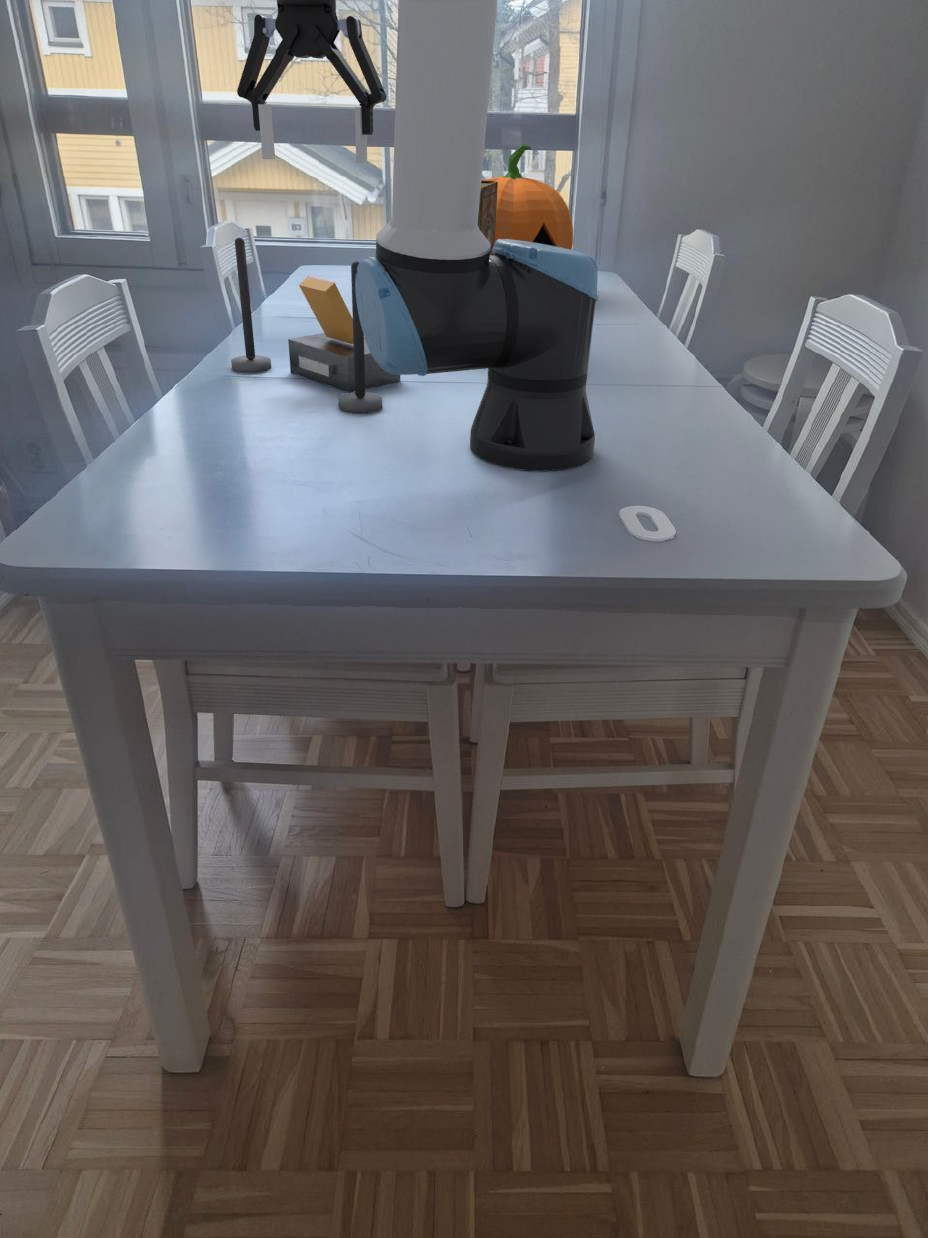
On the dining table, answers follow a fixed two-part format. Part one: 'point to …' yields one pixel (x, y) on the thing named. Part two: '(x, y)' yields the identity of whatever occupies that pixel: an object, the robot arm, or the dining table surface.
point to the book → (488, 211)
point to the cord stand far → (247, 320)
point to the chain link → (657, 517)
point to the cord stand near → (358, 367)
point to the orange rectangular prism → (329, 308)
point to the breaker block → (333, 363)
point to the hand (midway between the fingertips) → (314, 160)
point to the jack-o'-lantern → (530, 209)
